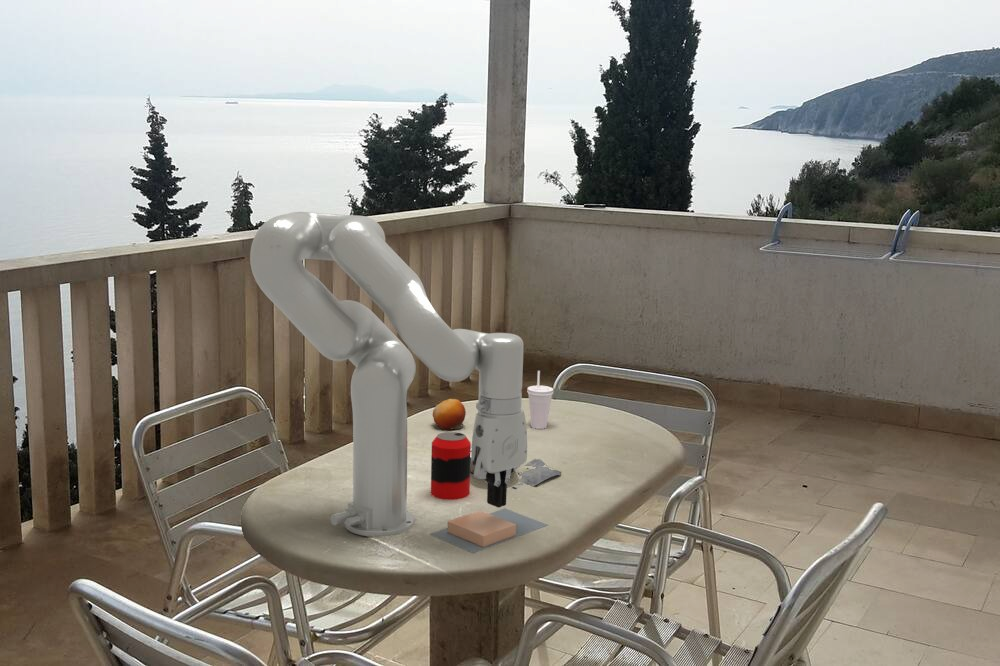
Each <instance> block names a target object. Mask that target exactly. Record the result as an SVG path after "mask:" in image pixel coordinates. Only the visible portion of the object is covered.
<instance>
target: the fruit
mask: <svg viewBox="0 0 1000 666" xmlns="http://www.w3.org/2000/svg"><path fill="white" fill-rule="evenodd" d="M466 415H467V412H466V408H465V406H464V404H463V403H462V402H461V401H460V400H459V399H457V398H447V399H446V400H445V399H444V400H442V401H441V402H440V403H439V404H436V405H435V408H433V410H432V418H433V421H434V423H435V425H437V426H438V427H439V428H440V429H442V430H446V431H449V430H454V429H456V430H457V429H458V430H461V426H464V424H463V423H464V421H465V418H466Z"/></svg>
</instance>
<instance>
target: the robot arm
mask: <svg viewBox="0 0 1000 666" xmlns="http://www.w3.org/2000/svg"><path fill="white" fill-rule="evenodd" d="M256 231H257V232H256V233H255V235H254V237H253V240H252V242H251V247H250V254H249V263H250V268H251V274H252V275H253V277H254V280H255V282H256V284H257V285H258V287H259V288H260V290H261V291H262V292H263V293H264V295H265V296H266V297H267V298H268V300H270V301H271V302H272V304H274V306H276V307H277V308H278V310H280V312H281V313H282V314H283V315H284V316H285V317H286V318H287V319H288V320H289V321H290V323H291V324H292V325H293V326H294V327H295V328H296V329H297V330H298V331H299V332H300V334H302V335H303V337H305V338H306V339H307V341H309V343H310V344H311V345H312V346H313V347H314V348H315V349H316V350H317V351H318V352H319V353H320V354H321V355H322V356H323V357H325V358H326V359H328V360H330V361H335V362H343V361H346V360H349V362H350V363H352V365H353V366H355V368H354V370H353V372H352V376H351V381H350V399H351V408H352V410H351V411H352V429H353V430H352V439H353V440H352V442H353V443H352V445H353V446H352V449H353V453H352V454H353V455H352V457H353V461H352V462H353V464H352V465H353V467H352V469H353V470H352V474H353V475H352V477H353V478H352V486H353V487H352V491H353V492H352V501H349V502H348V504H347V507H348V508H346V509H345V510H344V511H340V512H337V513H333V514H331V515H330V519H329V520H330V523H331V524H332V525H333V526H337V525H340V524H343V526H344V528H346V530H347V531H349V532H350V533H352V534H355V535H357V536H358V535H359V536H361V537H362V536H363V537H371V538H374V537H384V536H385V537H386V536H392V535H393V536H394V535H399V534H402V533H405V532H407V531H409V530H411V529H412V528H413V527H414V526H415V524H416V518H415V515H414V514H413V513H412V512H410V511H409V510H407V509H408V508H407V504H408V503H407V496H408V494H407V491H408V411H407V409H408V406H407V393H408V389H409V388H410V386H411V384H412V382H413V380H414V378H415V375H416V362H415V359H414V356H413V354H414V355H415V356H416V357H417V358H418V359H419V360H420V361H421V362H422V363H423V364H424V365H425V366H426V367H427V369H429V370H430V372H432V373H433V374H434V375H435V376H436V377H438V378H440V379H441V380H443V381H446V382H450V383H458V382H461V381H464V380H467V378H469V376H471V374H472V373H473V372H474V370H476V371H478V401H477V403H476V404H475V408H476V410H477V412H476V415H475V420H474V424H473V430H472V437H471V455H470V463H471V465H472V468H474V472H473V478H476V479H479V480H484V482H485V483H486V484H487V489H486V490H487V494H486V495H487V496H486V498H487V499H486V502H487V504H488V505H491V506H493V507H496V508H502V507H505V506H506V505H507V495H508V493H507V491H508V490H507V489H508V484H509V483H510V481H511V479H510V476H511V474H512V473H514V471H517V470H516V469H519V468H520V467H521V466H522V465H524V464H525V463H526V462H527V458H528V430H527V419H526V415H525V410H523V409H522V399H523V397H522V396H523V395H522V393H523V372H524V371H523V369H524V368H523V367H524V341H523V339H522V337H520V336H519V335H517V334H514V333H509V332H507V333H506V332H491V333H488V332H480V331H475V330H473V329H465V328H455V329H452V328H451V327H450V326H449V325H448V324H447V323H446V322H445V320H444V319H442V317H441V316H440V315H439V314H438V312H437V311H436V310H435V308H434V307H433V305H432V303H431V302H430V300H429V297H428V296H427V292H426V289H425V287H424V284H423V283H422V282H423V281H422V280H421V279H420V277H419V276H418V274H417V273H416V272H415V271H414V270H413V269H412V268H411V267H410V266H409V265H408V264H407V263H406V262H405V261H404V260H403V259H402V257H401V256H400V255H398V254H397V253H396V251H395V250H394V249H393V248H392V247H391V246H389V244H388V243H387V242H386V235H385V231H384V229H383V227H382V225H380V224H379V223H378V221H376V220H375V219H373V218H371V217H368V216H364V215H354V214H336V213H324V212H312V211H311V212H309V211H292V212H289V213H284V214H281V215H276V216H273V217H272V218H270V219H268V220H266V221H265V222H264V223H263V224H262V225H260V227H259V228H258V229H257V230H256ZM305 259H307V260H309V259H310V260H322V261H334V262H336V264H337V265H338V266H339V267H340V268H341V269H342V270H343V272H345V274H346V275H347V276H348V277H350V278H351V280H353V281H354V283H355V284H356V285H358V287H360V289H361V290H362V291H363V292H364V294H366V295H367V296H368V297H369V298H370V299H371V300H372V301H373V303H375V304H376V306H377V307H379V309H381V311H382V312H383V313H384V315H385V317H386V318H387V320H388V321H389V323H390V324H391V325H392V327H393V329H394V330H395V331H396V332H397V334H398V335H399V337H400V338H401V340H402V341H403V342H402V341H401V340H400V339H399V338H398V337H397V336H396V335H395V334H394V333H393V332H392V331H391V329H390V328H389V327H388V326H387V325H386V324H385V323H384V322H383V321H382V320H381V319H380V318H379V317H378V316H377V315H376V314H375V313H374V312H373V311H372V310H371V309H370V308H368V307H367V306H366V305H364V304H362V303H361V302H359V301H356V300H350V299H347V300H346V299H344V300H339V299H338V298H337V297H336V296H335V295H334V294H333V293H332V292H331V291H330V290H329V289H328V288H327V287H326V286H325V284H324V283H323V282H322V281H321V280H320V279H319V278H317V277H316V276H315V275H314V274H312V273H311V272H310V271H309V270H307V269H306V267H305V265H304V264H303V261H304V260H305ZM404 343H405V344H404ZM408 348H409V349H410V350H411V351H410V350H409V349H408ZM411 352H412V353H413V354H412V353H411Z"/></svg>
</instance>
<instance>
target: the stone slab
mask: <svg viewBox="0 0 1000 666" xmlns="http://www.w3.org/2000/svg"><path fill="white" fill-rule="evenodd" d="M545 464H546V463H545V462H544V461H543V460H542V459H541V458H538V459H537V458H534V459H533V460H531V461H528V462H527V463H526V464H525V465H524V466H532V467H536V468H535V469H527V470H526V471H522V472H523V473H522V472H520V473H521V474H518V475H519V476H522V478H521V479H519V481H517V482H518V484H516V485H515V486H512V487H511V488H512V489H513V488H515V489H516V490H517V489H519V488H520V487H521V486H523V485H526V486H529V485H530V487H535V486H538V485H539V484H540V483H542V482H544V481H546V480H548V479H550V478H552V477H555V476H561V474H562V471H560V470H557V469H554V470H551V469H549V468H550V467H548V466H547V467H543V466H544V465H545Z"/></svg>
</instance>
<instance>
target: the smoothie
mask: <svg viewBox="0 0 1000 666" xmlns="http://www.w3.org/2000/svg"><path fill="white" fill-rule="evenodd" d="M540 375H541V370H537V377H536V378H537V380H536V381H537V382H536V385H531V386H528V387H527V389H526V390H527V391H526V392H527V393H528V403H529V415H530V417H529V418H530V427H531V428H532V429H535V428H536V429H535V430H545V429H546V428H547V425H548V422H549V421H548V420H549V415H550V406H551V403H552V396H553V394H554V388H553V387H551V386H548V385H540V380H541V379H540V377H541V376H540ZM544 428H545V429H544Z"/></svg>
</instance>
